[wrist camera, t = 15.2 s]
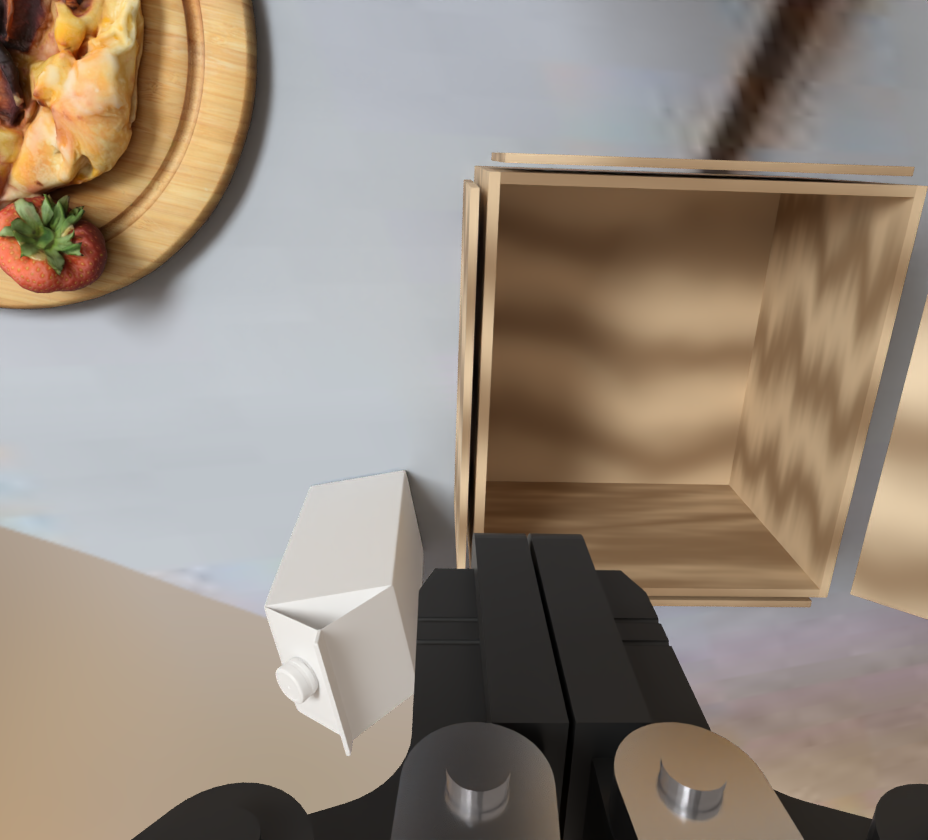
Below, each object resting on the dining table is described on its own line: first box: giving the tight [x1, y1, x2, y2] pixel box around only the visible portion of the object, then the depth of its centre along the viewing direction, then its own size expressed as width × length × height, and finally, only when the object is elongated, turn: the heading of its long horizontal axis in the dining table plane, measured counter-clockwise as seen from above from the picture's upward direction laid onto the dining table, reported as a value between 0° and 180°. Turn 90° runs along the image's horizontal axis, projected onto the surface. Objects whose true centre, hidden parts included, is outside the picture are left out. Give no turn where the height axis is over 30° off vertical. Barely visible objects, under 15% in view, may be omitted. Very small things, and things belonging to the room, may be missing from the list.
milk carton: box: [265, 470, 423, 756], centre depth 44 cm, size 7×7×19 cm
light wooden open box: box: [454, 153, 928, 607], centre depth 43 cm, size 24×21×14 cm
